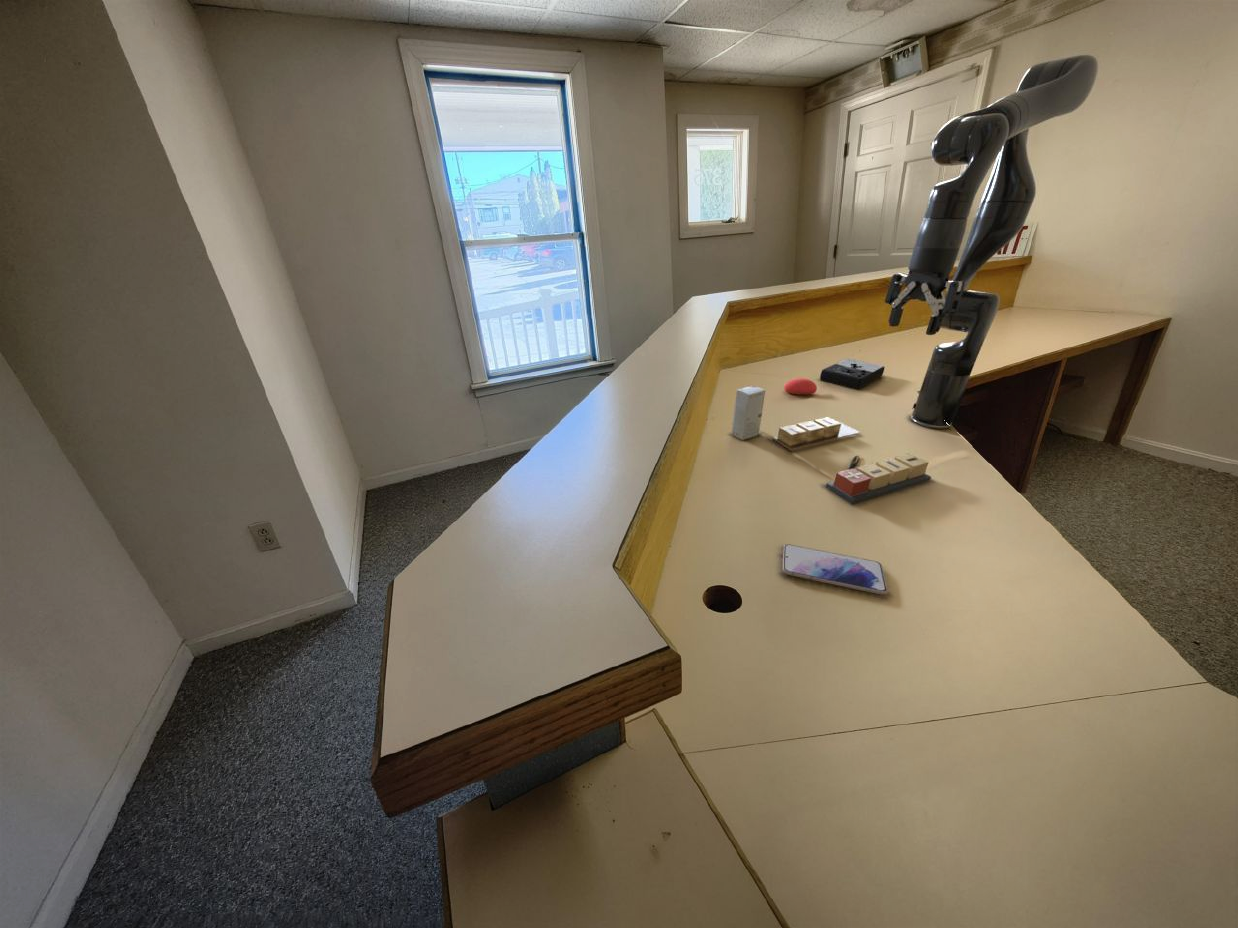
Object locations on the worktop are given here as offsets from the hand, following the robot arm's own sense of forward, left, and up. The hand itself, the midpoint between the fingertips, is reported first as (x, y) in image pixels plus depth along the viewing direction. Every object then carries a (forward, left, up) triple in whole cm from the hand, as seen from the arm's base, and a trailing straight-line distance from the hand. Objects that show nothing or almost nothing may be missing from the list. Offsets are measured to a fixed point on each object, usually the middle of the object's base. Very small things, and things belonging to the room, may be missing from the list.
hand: (911, 330), depth 95 cm
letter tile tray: (+9, -10, -28) cm, 31 cm away
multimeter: (-35, -40, -28) cm, 60 cm away
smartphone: (+42, +28, -28) cm, 58 cm away
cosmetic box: (+24, -19, -28) cm, 42 cm away
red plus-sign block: (+21, +12, -27) cm, 36 cm away
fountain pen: (+15, +6, -27) cm, 31 cm away
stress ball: (-9, -36, -28) cm, 47 cm away
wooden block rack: (+13, +12, -28) cm, 33 cm away
